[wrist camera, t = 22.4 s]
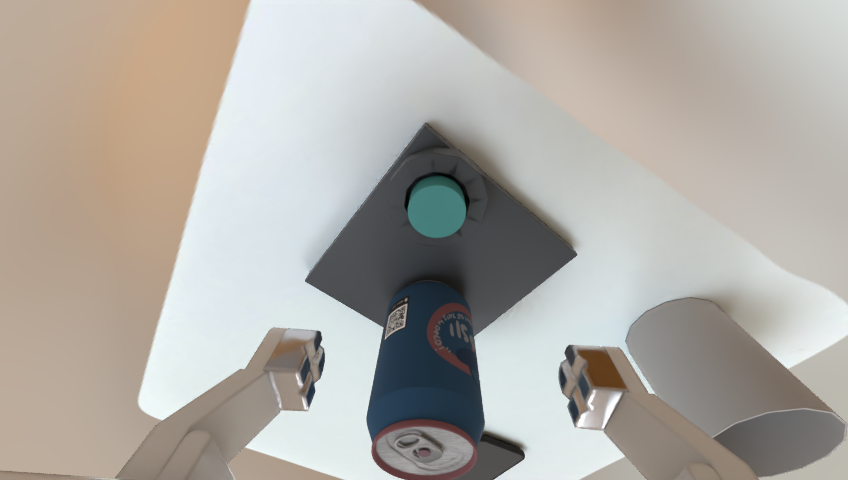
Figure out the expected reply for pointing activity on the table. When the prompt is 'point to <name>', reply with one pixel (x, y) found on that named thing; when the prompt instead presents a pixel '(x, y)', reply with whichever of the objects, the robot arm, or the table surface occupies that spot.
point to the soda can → (426, 386)
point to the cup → (732, 387)
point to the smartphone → (492, 460)
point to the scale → (440, 241)
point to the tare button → (437, 207)
